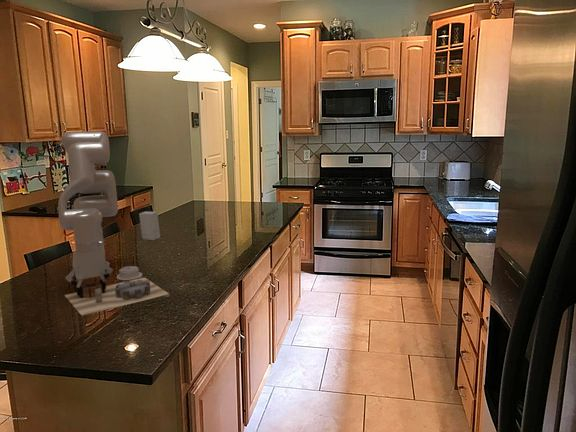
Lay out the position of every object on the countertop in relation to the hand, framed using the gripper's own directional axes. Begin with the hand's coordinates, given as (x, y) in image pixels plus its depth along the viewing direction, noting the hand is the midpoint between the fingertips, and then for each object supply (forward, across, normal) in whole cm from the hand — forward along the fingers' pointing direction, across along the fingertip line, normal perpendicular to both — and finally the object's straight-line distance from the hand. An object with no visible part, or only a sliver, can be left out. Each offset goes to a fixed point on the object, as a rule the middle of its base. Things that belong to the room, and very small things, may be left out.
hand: (91, 293), depth 169 cm
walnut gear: (0, 0, 0) cm, 0 cm away
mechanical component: (+2, -18, -12) cm, 22 cm away
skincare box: (+1, -50, -71) cm, 87 cm away
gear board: (+1, -7, +6) cm, 9 cm away
